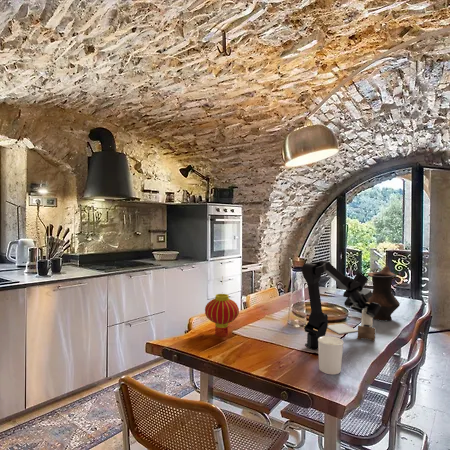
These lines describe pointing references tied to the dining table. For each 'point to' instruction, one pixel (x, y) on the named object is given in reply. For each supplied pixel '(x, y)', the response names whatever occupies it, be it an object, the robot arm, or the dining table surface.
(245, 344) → the dining table surface
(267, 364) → the dining table surface
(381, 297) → the jug
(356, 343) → the dining table surface
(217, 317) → the lantern
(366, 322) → the bottle
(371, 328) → the brown wooden box
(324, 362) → the white cylinder
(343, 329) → the board
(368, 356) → the dining table surface
